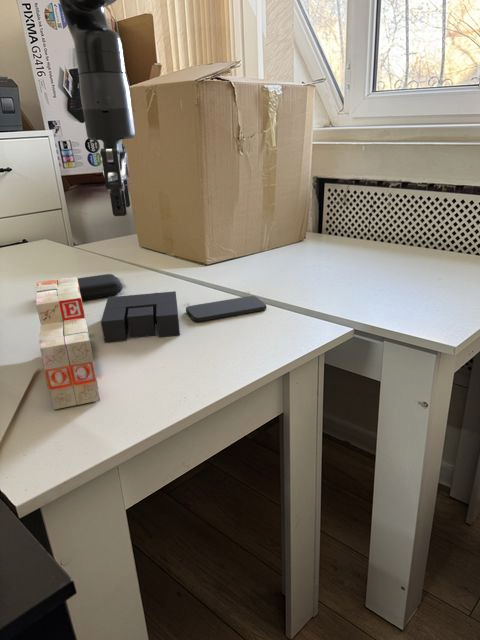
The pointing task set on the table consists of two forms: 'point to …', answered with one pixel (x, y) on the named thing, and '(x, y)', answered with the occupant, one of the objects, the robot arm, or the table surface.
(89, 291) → the carrying case
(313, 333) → the table surface
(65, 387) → the stack of blocks
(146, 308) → the square block
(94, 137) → the robot arm
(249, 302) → the phone
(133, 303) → the notched block
